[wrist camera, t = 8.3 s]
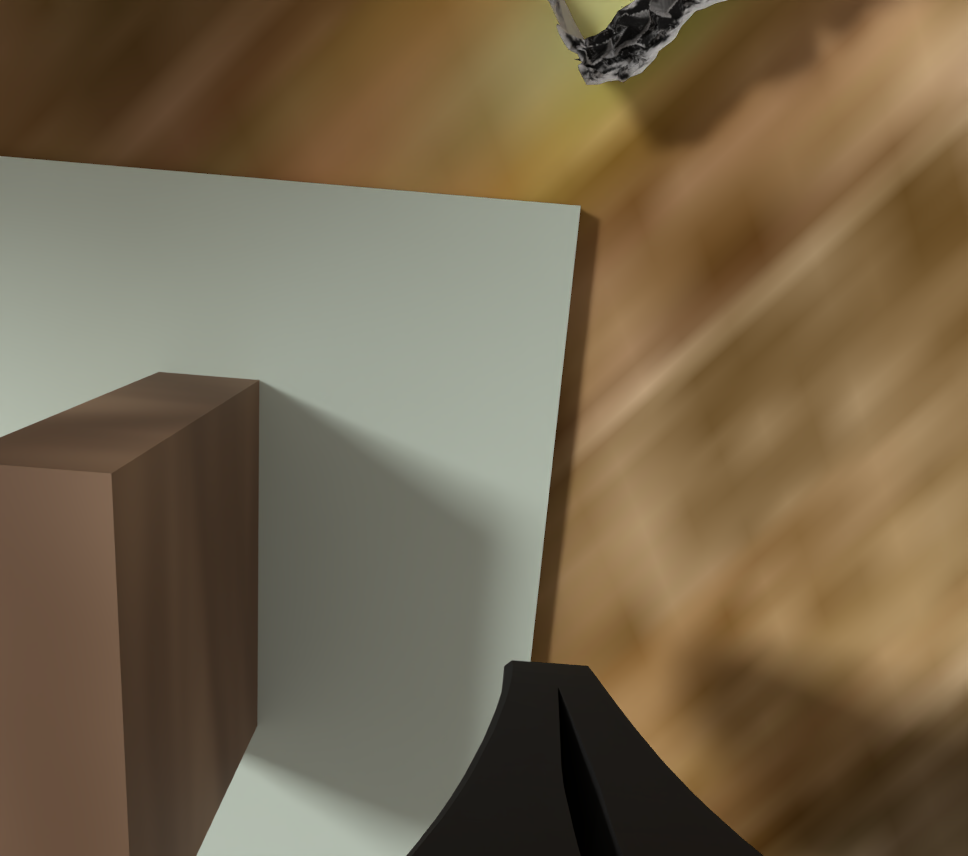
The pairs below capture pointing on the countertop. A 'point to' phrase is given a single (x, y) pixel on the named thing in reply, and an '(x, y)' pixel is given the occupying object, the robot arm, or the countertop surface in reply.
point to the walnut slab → (128, 617)
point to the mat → (327, 448)
